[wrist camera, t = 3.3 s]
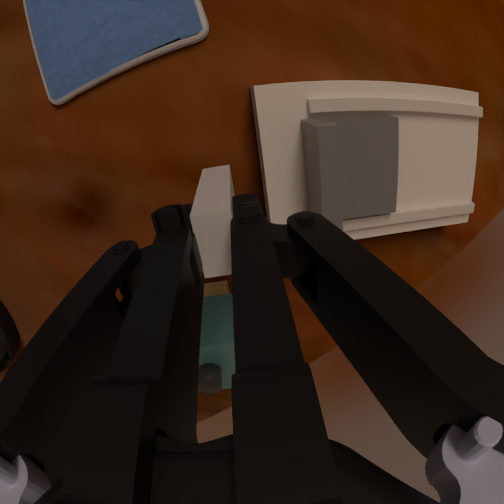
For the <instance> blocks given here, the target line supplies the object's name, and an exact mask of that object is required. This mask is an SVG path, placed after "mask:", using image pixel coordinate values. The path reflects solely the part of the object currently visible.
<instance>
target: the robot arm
mask: <svg viewBox="0 0 504 504" xmlns="http://www.w3.org/2000/svg"><path fill="white" fill-rule="evenodd" d="M151 217H152V220H153V224H154V227H155V231H156V237H155V239H154V242H153V244H152V245H150V246H147V247H144V248H141V249H139V248H138V245H137V242H135V241H130V240H129V241H121V242H118V243H116V244H115V245H114V246H112V247H111V248H109V249H108V250H107V251H106V252H105V253H104V254H103V255H102V256H101V257H100V259H99V260H98V261H97V262H96V263H95V264H94V265H93V266H92V267H91V268H90V269H89V271H88V272H87V273H86V274H85V275H84V276H83V277H82V278H81V280H80V281H79V282H78V283H77V284H76V285H75V286H74V288H73V289H72V290H71V291H70V292H69V293H68V294H67V296H66V297H65V298H64V299H63V300H62V302H61V303H60V304H59V305H58V306H57V308H56V309H55V310H54V311H53V312H52V314H51V315H50V316H49V317H48V319H47V320H46V321H45V322H44V324H43V325H42V326H41V327H40V329H39V330H38V331H37V333H36V334H35V335H34V336H33V338H32V339H31V340H30V342H29V343H28V344H27V346H26V347H25V348H24V350H23V351H22V353H21V354H20V355H19V357H18V358H17V359H16V361H15V362H14V364H13V365H12V366H11V368H10V369H9V371H8V372H7V374H6V375H5V377H4V378H3V380H2V381H1V383H0V504H504V365H502V364H500V363H498V362H496V361H494V360H493V359H491V358H489V357H488V356H487V355H486V354H484V352H483V351H482V350H480V348H479V347H477V345H475V344H474V343H473V342H472V341H471V340H470V339H469V338H468V337H467V336H466V335H465V334H464V333H463V332H462V331H461V330H460V329H459V328H457V327H456V326H455V325H454V324H453V323H452V322H451V321H450V320H449V319H448V318H447V317H445V316H444V315H443V314H442V313H441V312H440V311H439V310H438V309H436V308H435V307H434V306H433V305H432V304H431V303H430V302H429V301H428V300H426V299H425V298H424V297H423V296H422V295H421V294H419V293H418V292H417V291H416V290H415V289H414V288H413V287H411V286H410V285H409V284H408V283H407V282H405V281H404V280H403V279H402V278H401V277H400V276H398V275H397V274H396V273H395V272H394V271H392V270H391V269H390V268H389V267H387V266H386V265H385V264H384V263H383V262H381V261H380V260H379V259H378V258H376V257H375V256H374V255H373V254H371V253H370V252H369V251H368V250H366V249H365V248H364V247H363V246H361V245H360V244H359V243H357V242H356V241H355V240H354V239H352V238H351V237H350V236H348V235H347V234H346V233H345V232H343V231H342V230H341V229H339V228H338V227H337V226H335V225H334V224H333V223H331V222H330V221H329V220H327V219H326V218H325V217H323V216H322V215H320V214H318V213H315V212H311V211H307V212H306V211H301V212H298V213H295V214H292V215H290V216H289V217H288V218H287V224H274V223H271V222H268V221H267V218H266V216H265V215H264V214H263V211H262V207H261V203H260V200H259V196H257V195H256V194H254V193H250V194H243V195H236V196H234V189H233V183H232V177H231V171H230V165H225V166H218V167H212V168H207V169H203V170H202V174H201V177H200V181H199V184H198V188H197V191H196V195H195V199H194V202H193V204H187V205H180V204H174V205H168V206H164V207H162V208H159V209H157V210H156V211H154V212H153V213H152V214H151ZM202 269H203V273H204V276H205V278H210V277H217V276H224V275H231V274H232V299H233V326H234V351H235V374H232V378H231V391H232V416H233V434H232V435H229V436H225V437H222V438H219V439H215V440H212V441H208V442H204V443H200V444H199V443H198V441H197V435H196V424H197V396H198V374H199V355H200V338H201V323H202V309H203V296H204V282H203V278H202ZM283 278H291V282H292V284H293V286H294V287H295V289H296V290H297V291H298V293H299V294H300V295H301V297H302V298H303V299H304V301H305V302H306V303H307V305H308V306H309V307H310V309H311V310H312V311H313V313H314V314H315V315H316V317H317V318H318V319H319V321H320V322H321V323H322V325H323V326H324V327H325V329H326V330H327V331H328V333H329V334H330V336H331V337H332V338H333V340H334V341H335V342H336V344H337V345H338V346H339V348H340V349H341V350H342V352H343V353H344V354H345V356H346V357H347V358H348V360H349V361H350V363H351V364H352V365H353V366H354V368H355V369H356V371H357V372H358V373H359V375H360V376H361V378H362V379H363V380H364V382H365V383H366V384H367V386H368V387H369V388H370V390H371V391H372V393H373V394H374V395H375V397H376V398H377V399H378V401H379V402H380V404H381V405H382V406H383V407H384V409H385V410H386V412H387V413H388V415H389V416H390V417H391V419H392V420H393V422H394V423H395V424H396V426H397V427H398V428H399V430H400V431H401V432H402V434H403V435H404V436H405V437H406V438H407V440H408V441H409V442H410V443H411V444H412V445H413V446H414V447H415V448H416V449H417V450H418V451H419V452H420V453H421V454H422V455H423V456H425V457H426V458H427V462H426V466H425V469H426V476H427V480H428V482H429V484H430V485H432V486H433V487H434V488H435V489H436V490H437V492H438V494H439V497H440V499H441V503H439V502H437V501H435V500H433V499H431V498H430V497H428V496H426V495H424V494H422V493H420V492H419V491H417V490H416V489H414V488H412V487H410V486H409V485H407V484H405V483H404V482H402V481H400V480H399V479H397V478H396V477H394V476H392V475H391V474H389V473H387V472H386V471H384V470H383V469H381V468H380V467H378V466H376V465H375V464H373V463H372V462H370V461H369V460H367V459H366V458H364V457H363V456H361V455H360V454H358V453H357V452H355V451H354V450H352V449H351V448H349V447H347V446H345V445H343V444H341V443H339V442H336V441H333V440H330V439H328V436H327V432H326V428H325V424H324V420H323V416H322V412H321V408H320V404H319V400H318V396H317V392H316V388H315V384H314V380H313V376H312V373H311V370H310V366H309V365H308V363H305V362H304V359H303V355H302V351H301V347H300V343H299V339H298V335H297V331H296V327H295V323H294V319H293V315H292V312H291V308H290V304H289V300H288V296H287V292H286V289H285V285H284V281H283ZM118 288H119V290H120V292H121V295H122V297H123V299H122V300H121V301H120V302H119V301H118V299H117V297H116V295H115V293H116V290H117V289H118ZM18 348H19V337H18V333H17V330H16V327H15V325H14V323H13V321H12V319H11V317H10V315H9V314H8V312H7V311H6V309H5V308H4V306H3V305H2V303H1V302H0V372H2V371H3V370H4V369H5V368H6V367H7V366H8V365H9V364H10V363H11V362H12V360H13V358H14V356H15V354H16V353H17V351H18Z"/></svg>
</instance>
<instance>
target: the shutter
mask: <svg viewBox="0 0 504 504" xmlns="http://www.w3.org/2000/svg"><path fill="white" fill-rule="evenodd" d="M301 123H302V134H303V145H304V157H305V170H306V185H307V200H308V211H311V212H315V213H318V214H320V215H322V216H323V217H325V218H326V219H327V220H329V221H330V222H331V223H333V224H334V225H335V226H337V227H338V228H339V229H341V230H342V231H343V219H349V218H356V217H364V216H371V215H379V214H386V213H394V212H396V203H397V187H398V160H399V121H398V118H397V117H393V116H350V117H328V118H313V119H301Z"/></svg>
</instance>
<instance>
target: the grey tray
mask: <svg viewBox="0 0 504 504" xmlns="http://www.w3.org/2000/svg"><path fill="white" fill-rule="evenodd" d="M250 92H251V99H252V106H253V114H254V121H255V128H256V136H257V143H258V151H259V159H260V167H261V175H262V183H263V191H264V199H265V207H266V215H267V221H268V222H271V223H274V224H287V218H288V217H289V216H290V215H292V214H295V213H298V212H301V211H306V212H307V211H308V200H307V185H306V170H305V157H304V145H303V134H302V123H301V119H313V118H328V117H350V116H393V117H397V118H398V121H399V160H398V187H397V203H396V212H394V213H386V214H379V215H371V216H364V217H356V218H349V219H343V232H345V233H346V234H347V235H348V236H350V237H351V238H352V239H354V240H355V239H362V238H368V237H374V236H381V235H387V234H394V233H400V232H407V231H413V230H419V229H426V228H432V227H438V226H445V225H451V224H458V223H464V222H468V217H469V213H473V211H474V205H475V204H474V203H473V202H471V199H472V192H473V185H474V177H475V167H476V156H477V142H478V117H483V107H480V106H479V105H478V92H473V91H467V90H461V89H455V88H448V87H441V86H433V85H425V84H415V83H403V82H388V81H359V80H334V81H306V82H290V83H277V84H267V85H258V86H250Z"/></svg>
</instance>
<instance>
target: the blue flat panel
mask: <svg viewBox="0 0 504 504" xmlns="http://www.w3.org/2000/svg"><path fill="white" fill-rule="evenodd" d="M23 4H24V9H25V15H26V19H27V24H28V28H29V32H30V37H31V41H32V46H33V50H34V53H35V57H36V61H37V64H38V67H39V70H40V74H41V77H42V80H43V84H44V87H45V89H46V93H47V96H48V99H49V101H50V102H51V103H53V104H55V105H62V104H64V103H66V102H67V101H69V100H71V99H72V98H74V97H76V95H77V94H80V93H83V92H85V91H86V90H88V89H90V88H92V87H94V86H96V85H97V84H99V83H101V82H103V81H105V80H107V79H109V78H111V77H113V76H115V75H117V74H119V73H121V72H123V71H125V70H127V69H130V68H132V67H134V66H136V65H139V64H141V63H143V62H145V61H148V60H150V59H153V58H155V57H158V56H160V55H163V54H165V53H168V52H171V51H174V50H176V49H179V48H182V47H185V46H188V45H191V44H194V43H197V42H199V41H202V40H203V39H204V38H206V36H207V35H208V33H209V24H208V21H207V18H206V15H205V12H204V9H203V7H202V4H201V1H200V0H23Z"/></svg>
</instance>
